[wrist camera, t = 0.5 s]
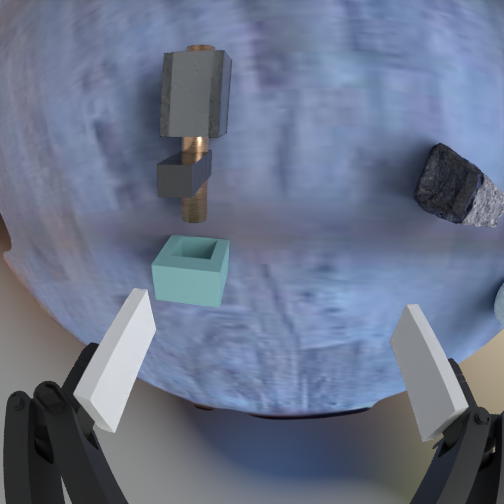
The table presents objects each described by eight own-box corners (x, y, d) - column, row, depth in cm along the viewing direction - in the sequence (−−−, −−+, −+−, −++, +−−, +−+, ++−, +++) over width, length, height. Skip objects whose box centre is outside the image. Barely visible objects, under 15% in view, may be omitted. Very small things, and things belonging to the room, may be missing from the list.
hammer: (190, 51, 25) (162, 33, 17) (218, 50, 25) (199, 30, 17) (185, 212, 35) (161, 245, 27) (209, 214, 35) (192, 248, 27)
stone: (396, 183, 34) (432, 124, 27) (439, 201, 36) (472, 152, 29) (436, 249, 26) (489, 182, 19) (476, 260, 29) (520, 207, 21)
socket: (171, 234, 38) (151, 265, 31) (229, 239, 38) (220, 272, 31) (173, 265, 40) (156, 299, 33) (228, 271, 40) (219, 307, 33)
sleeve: (181, 61, 27) (164, 53, 21) (232, 60, 27) (224, 50, 21) (177, 131, 31) (159, 136, 26) (226, 132, 31) (217, 137, 26)
